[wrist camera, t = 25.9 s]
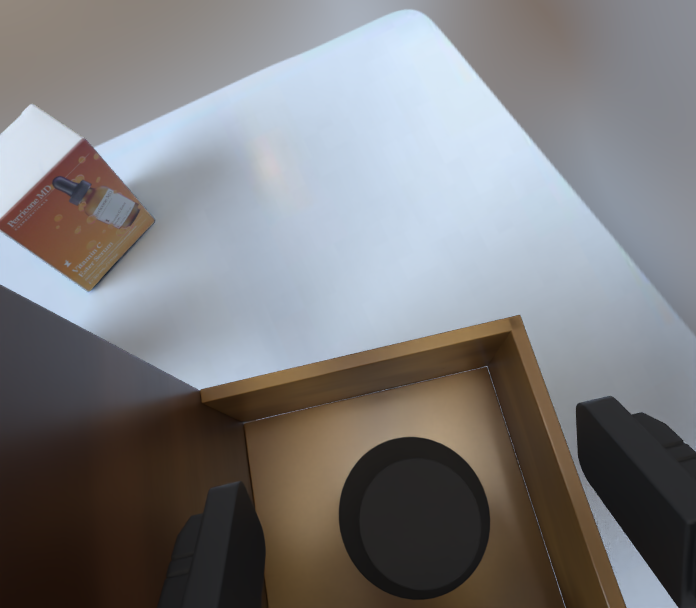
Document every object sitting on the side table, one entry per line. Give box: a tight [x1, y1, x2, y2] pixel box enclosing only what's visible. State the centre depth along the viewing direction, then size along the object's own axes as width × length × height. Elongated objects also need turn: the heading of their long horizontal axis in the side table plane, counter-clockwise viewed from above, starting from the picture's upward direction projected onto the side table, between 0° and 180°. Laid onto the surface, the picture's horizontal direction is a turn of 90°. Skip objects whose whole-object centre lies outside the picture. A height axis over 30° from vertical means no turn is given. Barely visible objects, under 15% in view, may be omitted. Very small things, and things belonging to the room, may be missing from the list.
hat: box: [339, 437, 490, 600], centre depth 20 cm, size 7×7×8 cm
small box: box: [0, 104, 155, 292], centre depth 37 cm, size 8×6×10 cm
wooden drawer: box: [0, 285, 626, 608], centre depth 19 cm, size 16×13×28 cm
